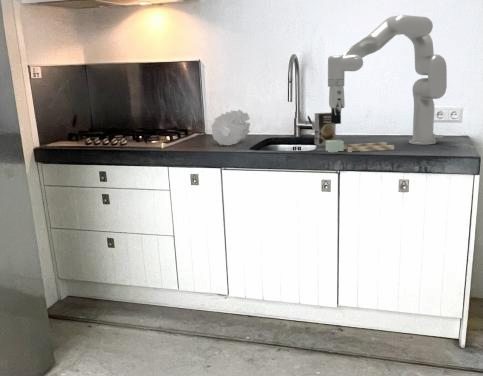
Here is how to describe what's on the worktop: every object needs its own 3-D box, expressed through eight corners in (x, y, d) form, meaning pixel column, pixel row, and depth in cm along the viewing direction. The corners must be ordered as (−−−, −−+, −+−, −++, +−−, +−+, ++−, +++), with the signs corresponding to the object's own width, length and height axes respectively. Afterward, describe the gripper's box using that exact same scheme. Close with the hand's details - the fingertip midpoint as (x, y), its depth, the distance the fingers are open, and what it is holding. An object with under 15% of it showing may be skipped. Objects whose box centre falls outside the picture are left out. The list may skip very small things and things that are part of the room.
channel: (385, 146, 248) (386, 142, 248) (394, 149, 239) (394, 145, 238) (341, 148, 246) (342, 144, 246) (348, 152, 237) (348, 147, 236)
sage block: (339, 150, 244) (339, 139, 243) (343, 152, 239) (343, 141, 237) (325, 150, 244) (325, 140, 243) (328, 152, 238) (328, 142, 237)
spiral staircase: (218, 154, 269) (231, 144, 292) (247, 140, 263) (257, 131, 286) (202, 123, 266) (216, 116, 290) (230, 108, 260) (242, 102, 284)
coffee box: (319, 146, 257) (319, 114, 253) (314, 144, 263) (314, 113, 259) (336, 144, 259) (336, 112, 256) (330, 143, 266) (330, 111, 262)
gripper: (349, 83, 226) (349, 124, 230) (338, 82, 242) (338, 121, 246) (333, 84, 225) (333, 125, 230) (323, 83, 241) (323, 121, 246)
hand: (335, 122), depth 238 cm, fingers open, 3 cm apart
